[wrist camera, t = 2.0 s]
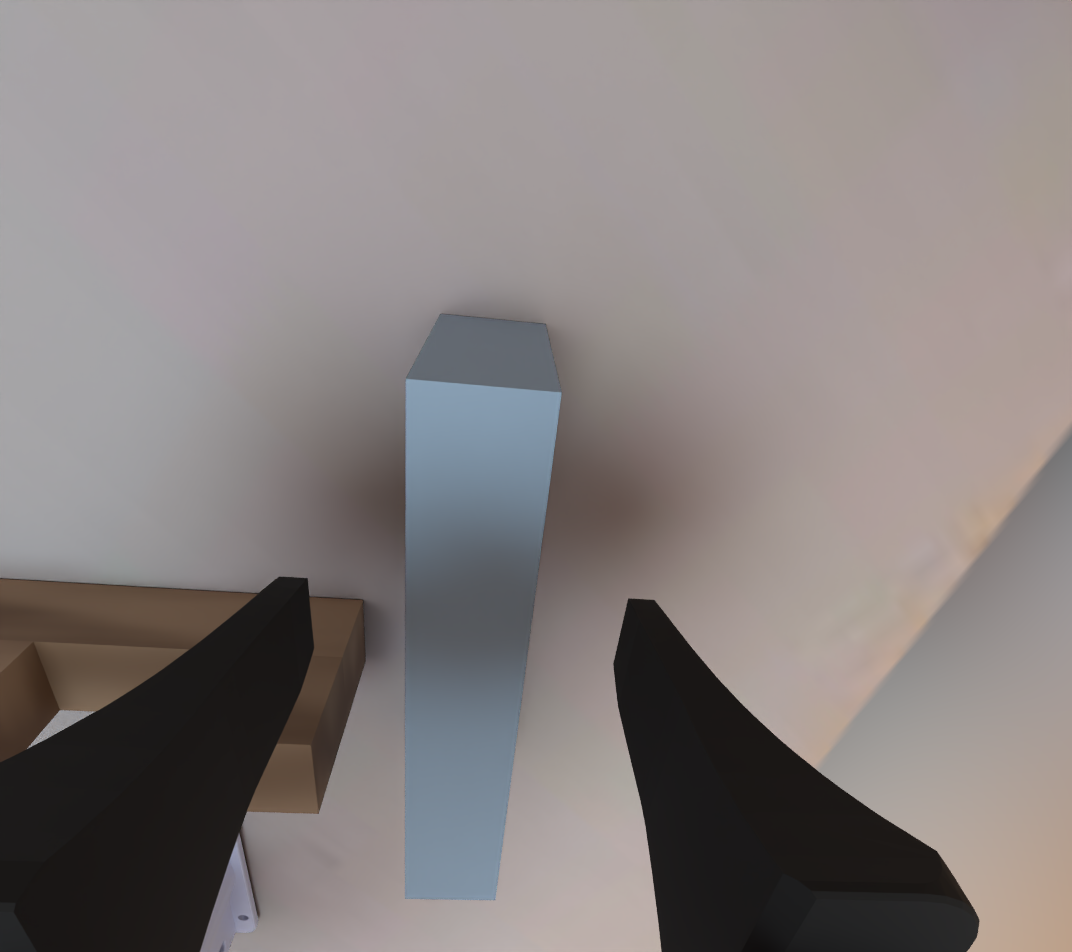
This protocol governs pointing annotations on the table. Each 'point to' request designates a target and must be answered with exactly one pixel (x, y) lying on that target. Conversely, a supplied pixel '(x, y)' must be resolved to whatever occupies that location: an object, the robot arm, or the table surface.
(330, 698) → the walnut beam
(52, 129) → the table surface
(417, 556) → the slate crossbar
